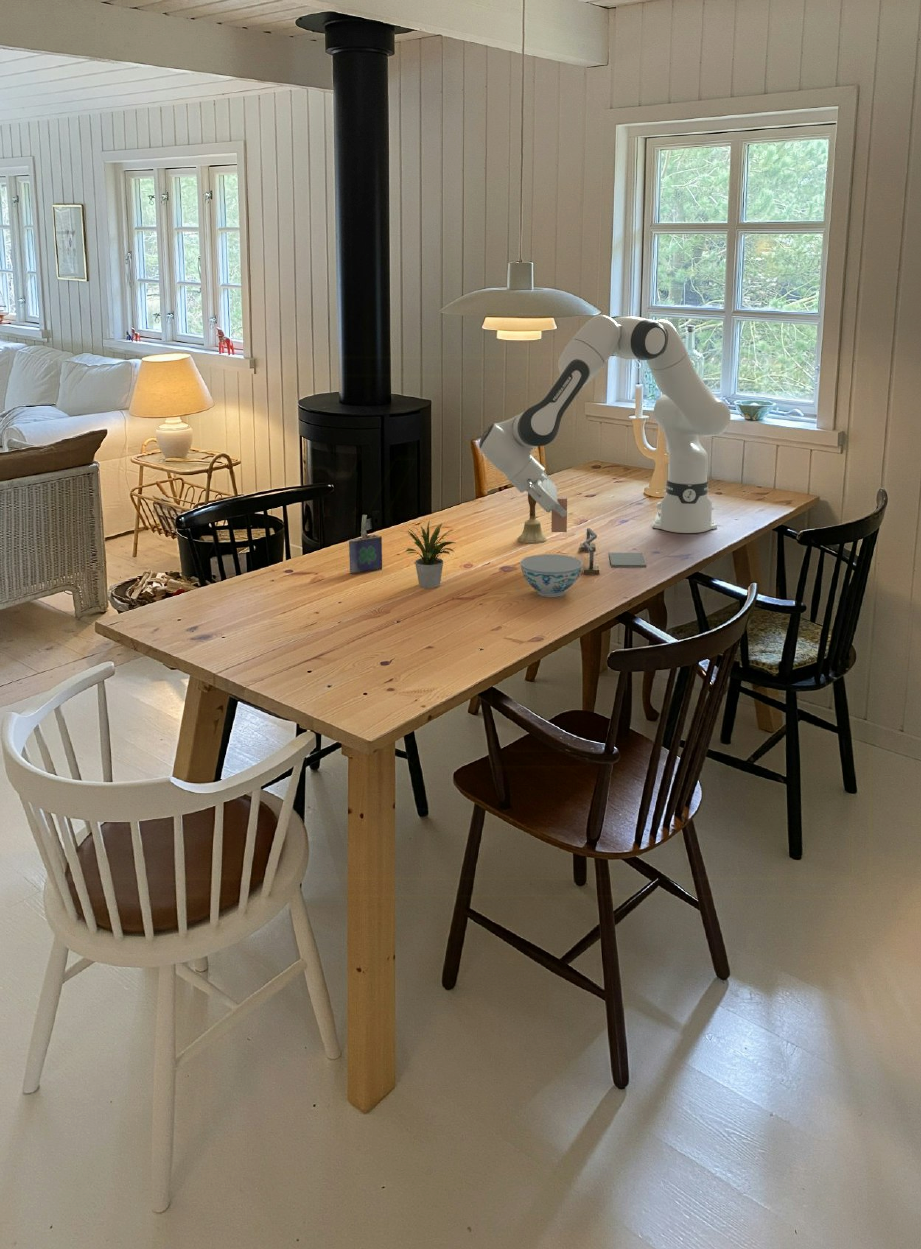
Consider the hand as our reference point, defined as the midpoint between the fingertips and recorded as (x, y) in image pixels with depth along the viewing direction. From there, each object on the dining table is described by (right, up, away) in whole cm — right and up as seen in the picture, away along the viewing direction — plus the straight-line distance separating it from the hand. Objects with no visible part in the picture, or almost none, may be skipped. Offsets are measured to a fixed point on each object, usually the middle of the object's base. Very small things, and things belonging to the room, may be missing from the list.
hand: (565, 512), depth 290 cm
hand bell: (-7, -5, +25) cm, 26 cm away
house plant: (-36, -20, -17) cm, 45 cm away
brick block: (-2, -4, +2) cm, 5 cm away
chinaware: (-6, -22, -23) cm, 32 cm away
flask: (-52, -16, -3) cm, 55 cm away
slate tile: (+17, -13, +3) cm, 21 cm away
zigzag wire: (+7, -12, +4) cm, 15 cm away
